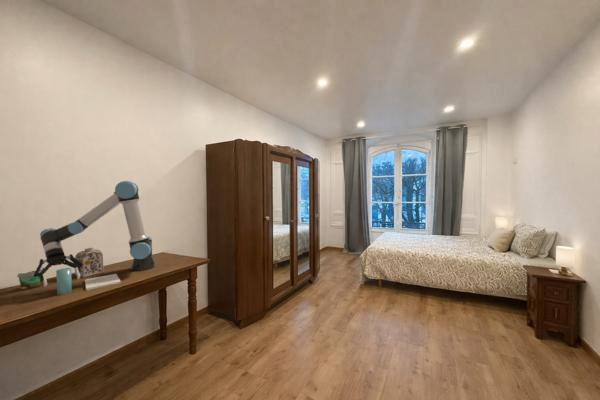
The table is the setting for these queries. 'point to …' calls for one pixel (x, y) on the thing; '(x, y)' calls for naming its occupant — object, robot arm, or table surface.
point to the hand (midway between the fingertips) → (63, 281)
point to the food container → (29, 280)
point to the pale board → (102, 281)
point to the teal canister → (64, 281)
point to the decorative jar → (90, 262)
